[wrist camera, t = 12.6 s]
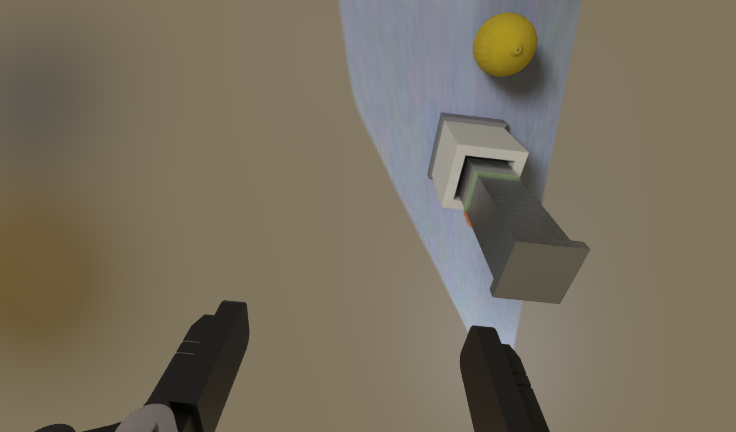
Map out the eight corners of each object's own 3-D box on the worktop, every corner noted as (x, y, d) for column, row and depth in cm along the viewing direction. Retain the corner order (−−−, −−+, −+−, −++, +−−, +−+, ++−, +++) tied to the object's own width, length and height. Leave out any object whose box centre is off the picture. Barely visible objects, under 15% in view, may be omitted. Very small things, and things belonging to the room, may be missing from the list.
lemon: (513, 69, 38) (542, 82, 31) (462, 69, 38) (480, 83, 32) (523, 11, 35) (558, 12, 29) (469, 12, 36) (491, 13, 29)
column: (460, 147, 36) (515, 241, 22) (506, 152, 36) (590, 249, 22) (450, 188, 38) (492, 297, 24) (492, 193, 39) (559, 303, 24)
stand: (441, 112, 41) (460, 146, 31) (502, 120, 41) (541, 155, 31) (427, 176, 45) (440, 223, 35) (483, 182, 45) (512, 230, 36)
